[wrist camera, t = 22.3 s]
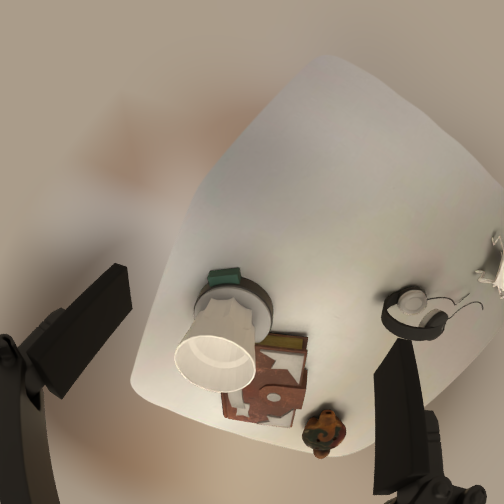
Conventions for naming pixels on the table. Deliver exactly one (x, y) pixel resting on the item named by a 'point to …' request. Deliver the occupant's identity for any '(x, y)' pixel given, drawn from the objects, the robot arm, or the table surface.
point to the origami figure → (503, 274)
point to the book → (272, 383)
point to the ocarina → (324, 433)
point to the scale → (238, 298)
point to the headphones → (412, 304)
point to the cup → (219, 348)
